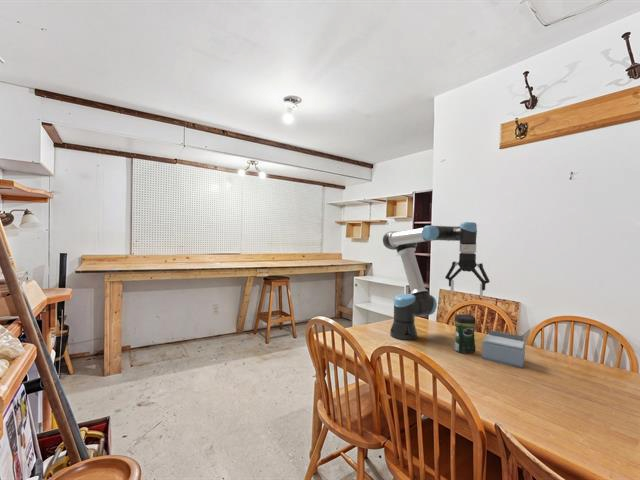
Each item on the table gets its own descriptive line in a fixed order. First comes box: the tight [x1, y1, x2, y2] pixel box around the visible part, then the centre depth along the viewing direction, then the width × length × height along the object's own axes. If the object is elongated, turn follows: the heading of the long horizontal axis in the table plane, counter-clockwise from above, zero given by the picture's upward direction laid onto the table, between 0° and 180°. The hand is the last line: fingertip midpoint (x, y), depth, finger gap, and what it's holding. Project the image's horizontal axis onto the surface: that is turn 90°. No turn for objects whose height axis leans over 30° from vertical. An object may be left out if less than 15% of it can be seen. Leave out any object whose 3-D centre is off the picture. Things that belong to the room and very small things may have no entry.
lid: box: [482, 329, 526, 349], centre depth 145 cm, size 16×12×3 cm
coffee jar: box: [453, 313, 477, 354], centre depth 155 cm, size 10×8×19 cm
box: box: [481, 340, 526, 369], centre depth 145 cm, size 16×12×8 cm
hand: (466, 294), depth 155 cm, fingers open, 13 cm apart
